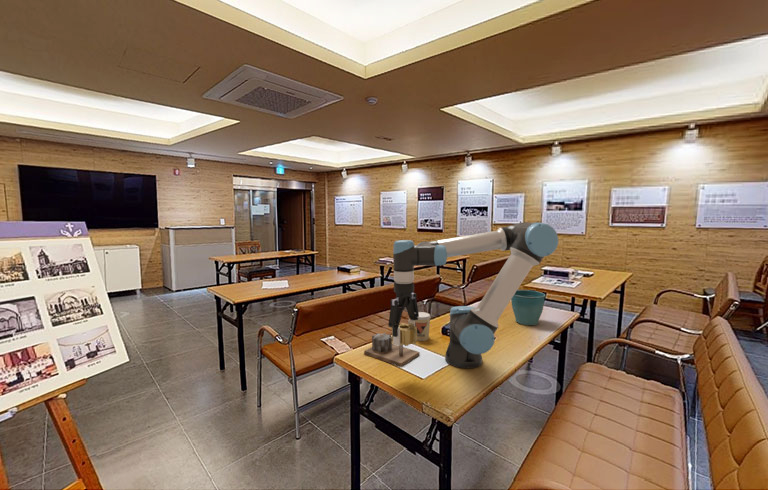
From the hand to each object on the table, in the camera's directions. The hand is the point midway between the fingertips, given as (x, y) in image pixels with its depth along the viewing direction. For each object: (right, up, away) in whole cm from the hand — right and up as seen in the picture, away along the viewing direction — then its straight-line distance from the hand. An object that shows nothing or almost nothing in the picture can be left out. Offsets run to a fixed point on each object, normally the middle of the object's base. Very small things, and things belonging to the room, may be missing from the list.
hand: (404, 340), depth 124 cm
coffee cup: (+11, -11, +41) cm, 44 cm away
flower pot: (+74, -9, +64) cm, 98 cm away
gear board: (-4, -12, +21) cm, 25 cm away
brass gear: (0, 0, 0) cm, 0 cm away
